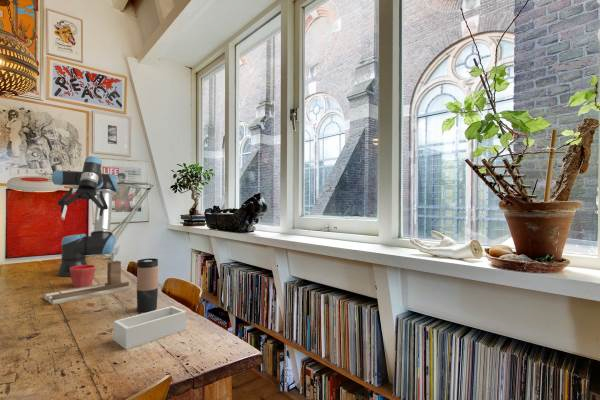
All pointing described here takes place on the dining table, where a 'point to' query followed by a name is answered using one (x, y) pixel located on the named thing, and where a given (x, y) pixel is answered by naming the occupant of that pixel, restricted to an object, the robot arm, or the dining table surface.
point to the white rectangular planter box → (149, 326)
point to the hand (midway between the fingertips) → (80, 219)
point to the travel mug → (147, 285)
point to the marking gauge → (113, 273)
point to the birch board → (84, 292)
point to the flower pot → (82, 275)
